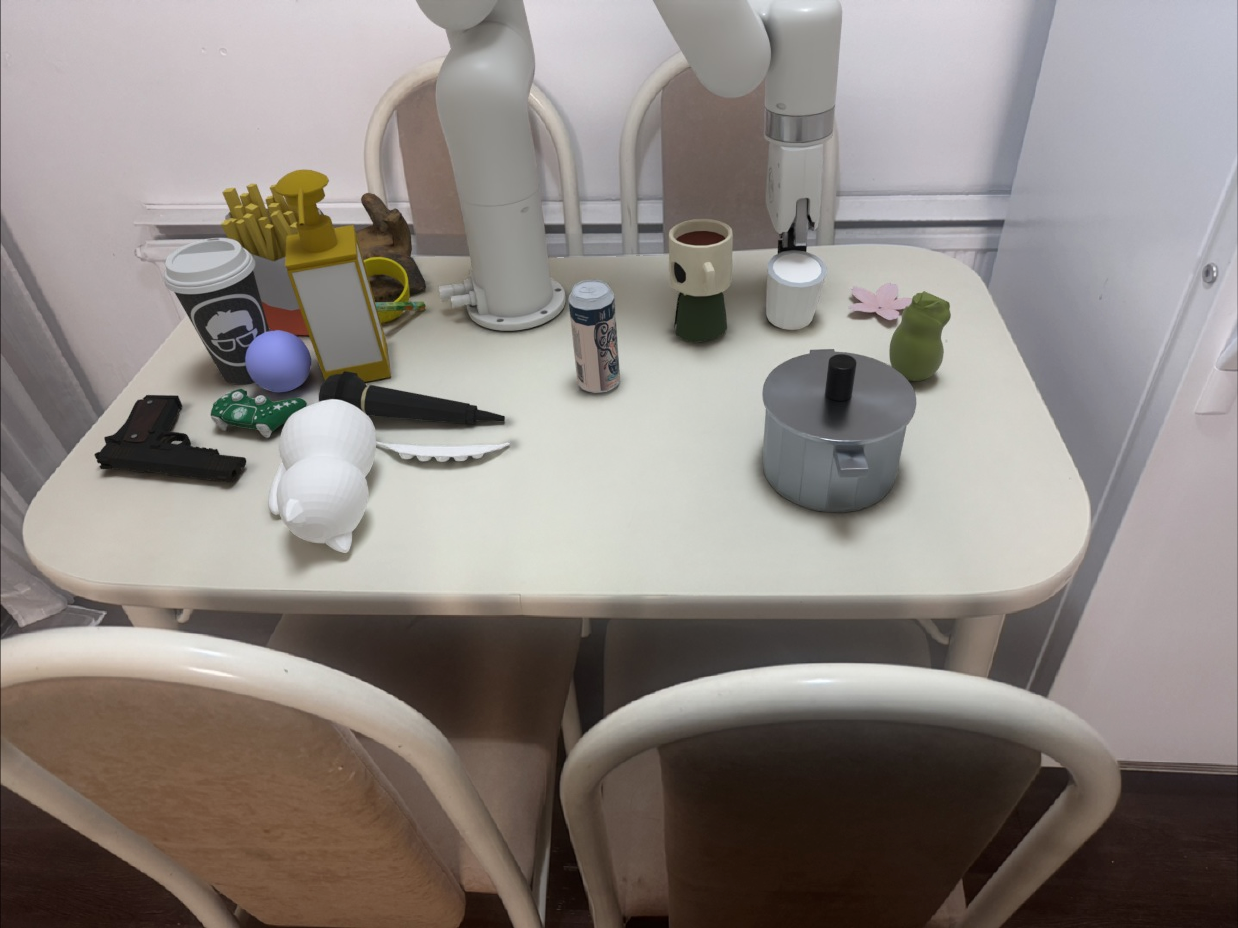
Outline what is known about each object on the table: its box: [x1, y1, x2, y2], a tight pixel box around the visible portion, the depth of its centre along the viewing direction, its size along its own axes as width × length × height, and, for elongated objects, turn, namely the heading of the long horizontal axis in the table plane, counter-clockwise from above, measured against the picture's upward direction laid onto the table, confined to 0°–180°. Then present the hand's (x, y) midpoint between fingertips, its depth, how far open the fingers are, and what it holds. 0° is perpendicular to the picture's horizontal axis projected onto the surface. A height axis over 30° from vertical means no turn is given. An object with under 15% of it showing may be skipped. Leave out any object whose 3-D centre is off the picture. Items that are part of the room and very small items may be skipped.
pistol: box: [93, 394, 247, 484], centre depth 92 cm, size 2×18×12 cm
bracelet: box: [364, 257, 411, 324], centre depth 110 cm, size 7×8×3 cm
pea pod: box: [376, 440, 511, 463], centre depth 89 cm, size 15×4×2 cm, turn 87°
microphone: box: [318, 371, 506, 425], centre depth 93 cm, size 6×6×20 cm
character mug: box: [668, 218, 734, 344], centre depth 99 cm, size 11×7×13 cm, turn 8°
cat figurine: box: [267, 399, 377, 554], centre depth 82 cm, size 9×12×15 cm
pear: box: [889, 290, 952, 382], centre depth 91 cm, size 6×5×10 cm
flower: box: [847, 282, 913, 321], centre depth 105 cm, size 10×10×2 cm
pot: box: [762, 348, 908, 514], centre depth 82 cm, size 13×18×8 cm
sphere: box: [245, 330, 312, 393], centre depth 98 cm, size 7×7×7 cm
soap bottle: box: [274, 169, 392, 383], centre depth 92 cm, size 7×13×24 cm, turn 15°
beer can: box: [567, 279, 621, 394], centre depth 93 cm, size 5×5×12 cm
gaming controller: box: [210, 388, 308, 439], centre depth 94 cm, size 9×4×6 cm
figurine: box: [317, 192, 427, 302], centre depth 118 cm, size 13×8×20 cm
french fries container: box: [220, 183, 322, 336], centre depth 104 cm, size 5×11×18 cm, turn 83°
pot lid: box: [761, 351, 917, 445], centre depth 78 cm, size 14×14×5 cm
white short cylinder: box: [765, 250, 828, 331], centre depth 102 cm, size 7×7×7 cm
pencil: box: [375, 301, 427, 312], centre depth 103 cm, size 1×1×18 cm
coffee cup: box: [163, 237, 270, 385], centre depth 99 cm, size 10×10×15 cm
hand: (790, 271), depth 107 cm, fingers closed
